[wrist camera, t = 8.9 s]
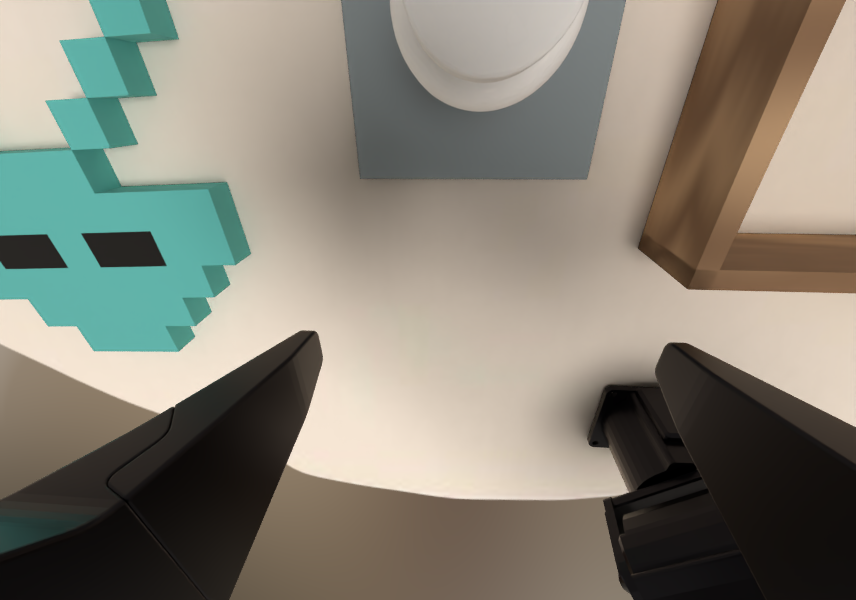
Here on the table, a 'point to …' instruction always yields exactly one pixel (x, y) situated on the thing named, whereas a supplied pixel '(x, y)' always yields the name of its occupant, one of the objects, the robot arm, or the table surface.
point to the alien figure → (112, 209)
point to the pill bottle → (485, 46)
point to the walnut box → (743, 156)
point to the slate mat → (466, 130)
